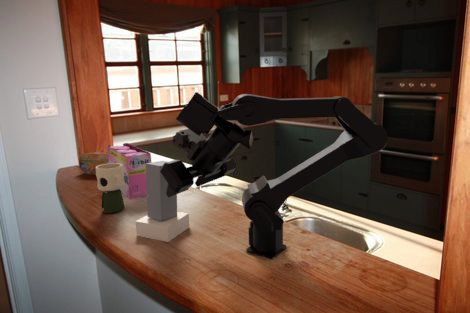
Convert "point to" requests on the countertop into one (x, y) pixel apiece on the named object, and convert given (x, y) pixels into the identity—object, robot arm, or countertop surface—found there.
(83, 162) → the tin
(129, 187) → the gum box
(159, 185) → the grey column
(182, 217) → the cream slab
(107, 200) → the character mug
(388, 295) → the countertop surface
